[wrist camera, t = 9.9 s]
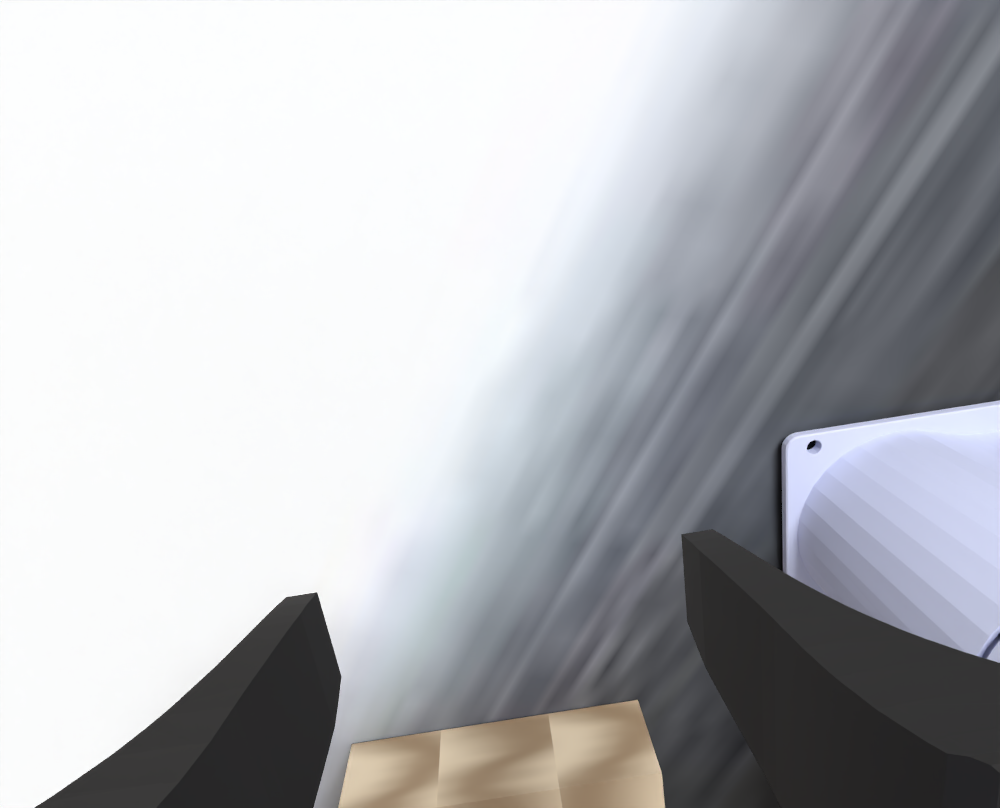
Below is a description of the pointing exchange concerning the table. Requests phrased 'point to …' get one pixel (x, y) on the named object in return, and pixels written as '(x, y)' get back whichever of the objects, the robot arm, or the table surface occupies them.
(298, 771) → the robot arm
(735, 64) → the table surface
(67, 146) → the table surface
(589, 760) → the holder block
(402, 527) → the table surface
